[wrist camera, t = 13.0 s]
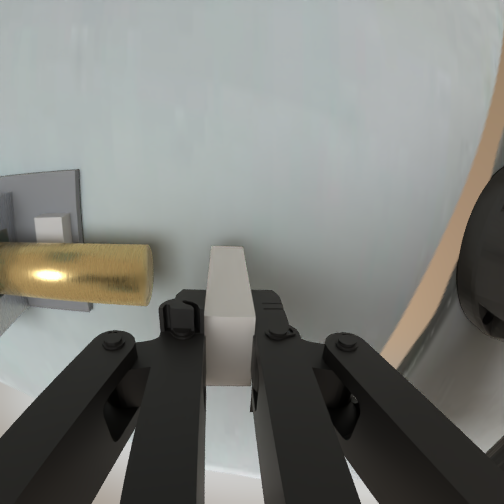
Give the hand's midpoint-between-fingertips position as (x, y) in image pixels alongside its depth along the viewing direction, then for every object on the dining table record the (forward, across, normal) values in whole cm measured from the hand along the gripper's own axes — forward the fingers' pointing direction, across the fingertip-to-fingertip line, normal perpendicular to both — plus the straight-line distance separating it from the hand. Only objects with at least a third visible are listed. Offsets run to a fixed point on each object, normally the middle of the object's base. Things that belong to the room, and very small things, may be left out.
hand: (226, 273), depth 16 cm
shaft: (+1, +10, 0) cm, 11 cm away
